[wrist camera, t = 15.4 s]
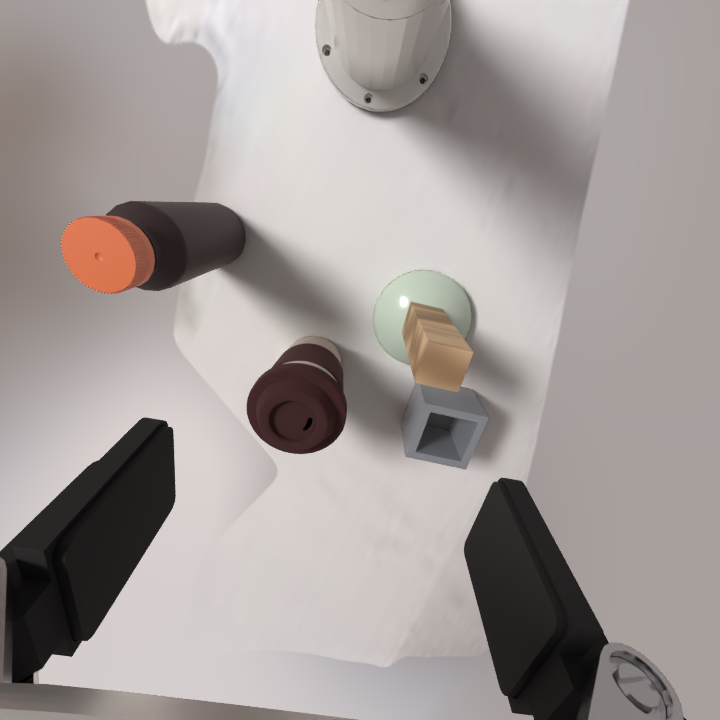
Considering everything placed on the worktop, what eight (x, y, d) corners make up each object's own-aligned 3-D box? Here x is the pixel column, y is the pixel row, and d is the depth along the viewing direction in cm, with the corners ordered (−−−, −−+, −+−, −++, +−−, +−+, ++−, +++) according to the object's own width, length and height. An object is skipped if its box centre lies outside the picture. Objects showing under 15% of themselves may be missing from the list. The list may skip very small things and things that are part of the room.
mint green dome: (387, 259, 42) (388, 260, 41) (483, 283, 43) (486, 285, 42) (363, 350, 47) (363, 353, 46) (450, 370, 48) (452, 374, 47)
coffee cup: (262, 347, 47) (219, 406, 33) (325, 311, 45) (307, 357, 31) (304, 404, 50) (281, 478, 37) (365, 372, 48) (364, 439, 35)
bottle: (180, 205, 41) (25, 206, 22) (239, 199, 40) (130, 194, 22) (197, 266, 43) (71, 311, 25) (252, 261, 43) (165, 303, 24)
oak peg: (410, 301, 43) (428, 341, 30) (442, 308, 43) (473, 352, 31) (401, 331, 45) (415, 382, 32) (432, 339, 45) (458, 392, 32)
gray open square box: (417, 377, 48) (425, 403, 42) (473, 389, 49) (489, 417, 43) (400, 425, 52) (405, 456, 45) (453, 436, 52) (465, 469, 46)
